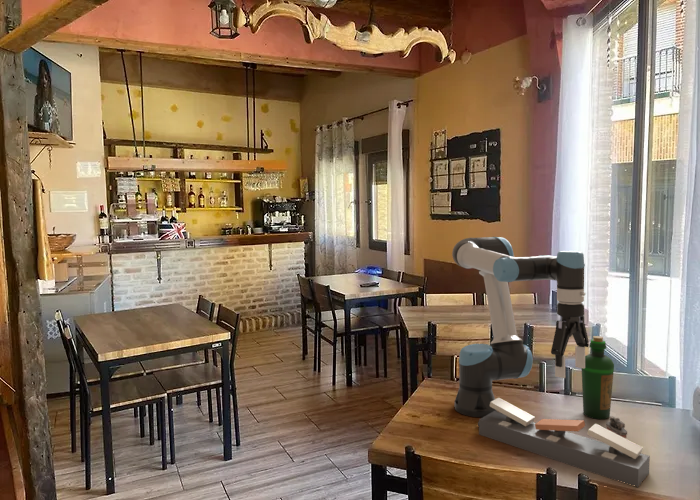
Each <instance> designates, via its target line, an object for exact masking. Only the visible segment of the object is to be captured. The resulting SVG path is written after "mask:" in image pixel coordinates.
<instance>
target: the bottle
mask: <svg viewBox="0 0 700 500" xmlns="http://www.w3.org/2000/svg"><path fill="white" fill-rule="evenodd" d="M589 342H590V343H589V346H588V348H590V349H591V351H590V353H589V354H587V355H586V354H585V368H584V369H583V368H581V384H582V385H581V386H582V390H581V391H582V392H581V393H582V407H583V411H582V412H583V413H582V414H584V415H585V416H587V417H588V418H592V419H597V420H605V419H607V418H610V415H611V406H612V405H611V403H612V393H613V383H614V381H613V380H614V371H615V370H614V369H615V363H614V361H613V360H612V359H611V358H610V357H609V356H607V355H605V350H606V349H607V344H606V341H605V340H604V337H603V336H601V335H593V336H592V339H590V341H589Z"/></svg>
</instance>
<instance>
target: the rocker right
mask: <svg viewBox="0 0 700 500" xmlns="http://www.w3.org/2000/svg"><path fill="white" fill-rule="evenodd" d="M586 435H588V436H590V437H592V438H593V439H595V440H597V441H600V442H603V443H605V444H607V445H609V446H611V447H613V448H615V449H617V450H619V451H620V452H622V453H624V454H626V455H628V456H630V457H632V458H634V459H636V458H637V457H638V456H639V455H640V454H641V453H643V449H644V447H643V446H642V445H639V444H638V443H635V442H633V441H631V440H629V439H627V438H626V439H625V438H623V437H622V436H620V435H618V434H616V433H614V432H612V431H610V430H608V429H607V427H606V428H605V427H603V426H601V425H599V424H598V423H594V424H593V425H592V426H591V427H590V428H588V430H587V433H586Z"/></svg>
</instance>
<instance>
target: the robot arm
mask: <svg viewBox="0 0 700 500" xmlns="http://www.w3.org/2000/svg"><path fill="white" fill-rule="evenodd" d="M451 256H452V259H453V261H454V263H455V264H456V265H457V266H459V267H461V268H464V269H467V270H468V269H474V270H475V269H476V270H478V274H479V275H480V276H482V278H483V281H484V287H485V293H486V299H487V300H486V301H487V306H488V311H489V316H490V317H489V319H490V322H491V329H492V336H493V339H492V341H491V342H490V344H487V343H471V344H468V345H465V346H464V347H462V348H461V349H460V350H459V351H460V352H459V357H458V358H459V359H458V365H459V367H458V368H459V369H458V371H459V375H458V376H459V382H458V383H459V386H458V391H457V393H456V395H455V399H454V407H455V408H454V410H455V411H456V413H457V412H458V413H459V414H460V415H463V416H468V417H473V418H475V417H476V418H483V417H484V416H486V415H488V414H490V413H491V412H493V411H497V410H495V409H494V408H492V407H490V402H491V401H493V400H495V399H496V398H495V394H494V392H493V381H502V380H510V379H511V380H512V379H514V380H516V379H519V378H525V377H527V376H528V375H529V374H530V372H531V370H532V368H533V361H534V360H533V359H534V358H533V354H532V351H531V350H530V347H529V346H528V345H527V344H524V342H523V339H522V338H521V337H519V336H518V331H517V325H516V321H515V314H514V309H513V304H512V299H511V293H510V292H511V291H510V287H509V286H510V285H509V283H512V282H524V281H527V282H530V281H546V280H548V281H549V280H550V281H556V301H557V303H556V315H558V316H560V317H561V320H557V321H555V322H556V323H555V331H554V336H553V340H552V346H551V350H550V354H551V355H554V356H555V357H554V377H556V378H561V379H566V355H565V352H566V348H567V346H568V344H569V343H568V342H569V340H570V338H571V337H573V339H574V342H575V344H576V346H575V356H574V357H575V361H574V362H575V365H574V367H575V368H579V369H582V368H583V369H584V368H585V356H586V348H589V346H590V343H589V342H590V341H589V337H588V333H587V328H586V324H585V303H584V302H585V296H586V292H585V266H586V263H585V254H584V253H583V251H579V250H578V251H577V250H559V251H558V252H557V253H556V255H555V256H554V255H549V254H546V255H545V254H543V255H538V256H536V255H535V256H515V254H514V250H513V246H512V245H511V243H510V241H509V240H508V239H506V238H505V237H503V236H501V237H500V236H499V237H497V236H489V237H487V236H486V237H467V238H463V239H460V240H459V241H458V242H456V243H455V245H454V247H453V249H452V253H451ZM497 412H498V411H497Z"/></svg>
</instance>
